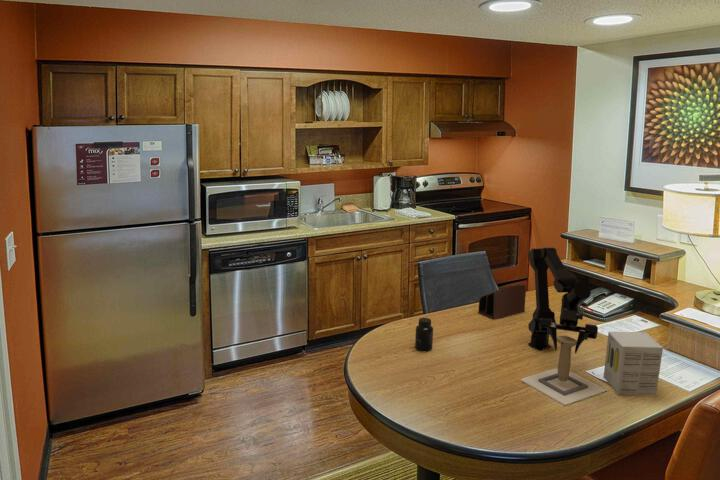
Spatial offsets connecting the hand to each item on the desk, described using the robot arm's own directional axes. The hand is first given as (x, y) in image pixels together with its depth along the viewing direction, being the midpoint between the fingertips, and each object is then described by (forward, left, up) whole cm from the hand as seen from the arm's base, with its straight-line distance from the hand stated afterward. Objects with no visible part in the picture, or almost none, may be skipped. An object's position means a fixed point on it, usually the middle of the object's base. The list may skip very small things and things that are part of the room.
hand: (565, 351), depth 196 cm
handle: (-1, -1, -11) cm, 11 cm away
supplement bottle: (+23, -49, -13) cm, 55 cm away
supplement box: (-21, +10, -13) cm, 27 cm away
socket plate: (-1, -1, -13) cm, 13 cm away
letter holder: (-32, -64, -14) cm, 73 cm away
